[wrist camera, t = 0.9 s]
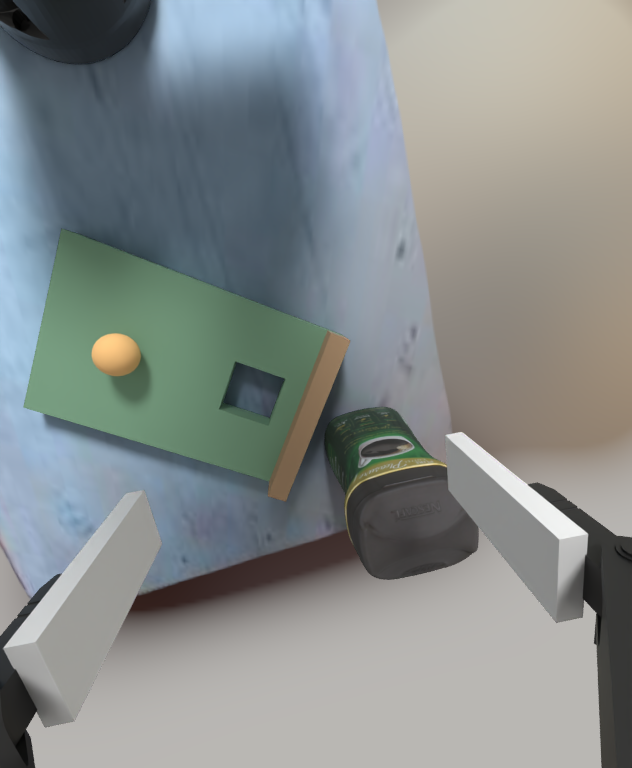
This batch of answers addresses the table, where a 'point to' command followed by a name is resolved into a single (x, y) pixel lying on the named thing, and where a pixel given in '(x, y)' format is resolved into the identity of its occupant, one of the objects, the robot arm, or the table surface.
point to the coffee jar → (396, 497)
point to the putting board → (178, 362)
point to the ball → (116, 354)
